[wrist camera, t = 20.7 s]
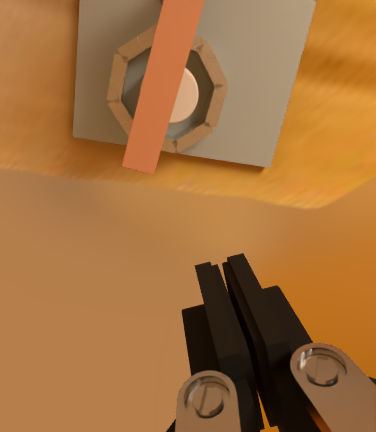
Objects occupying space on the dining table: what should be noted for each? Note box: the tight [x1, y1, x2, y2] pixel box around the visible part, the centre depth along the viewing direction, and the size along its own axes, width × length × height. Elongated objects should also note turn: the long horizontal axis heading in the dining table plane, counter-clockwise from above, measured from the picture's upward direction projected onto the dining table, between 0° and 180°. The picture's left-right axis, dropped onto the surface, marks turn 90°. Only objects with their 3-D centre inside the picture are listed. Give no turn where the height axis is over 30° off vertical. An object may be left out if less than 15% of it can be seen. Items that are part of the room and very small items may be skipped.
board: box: [73, 0, 317, 168], centre depth 29 cm, size 21×17×10 cm
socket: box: [107, 24, 228, 154], centre depth 32 cm, size 10×10×2 cm
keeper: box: [122, 0, 205, 175], centre depth 23 cm, size 16×4×2 cm, turn 162°
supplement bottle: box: [140, 68, 199, 124], centre depth 29 cm, size 5×5×8 cm
